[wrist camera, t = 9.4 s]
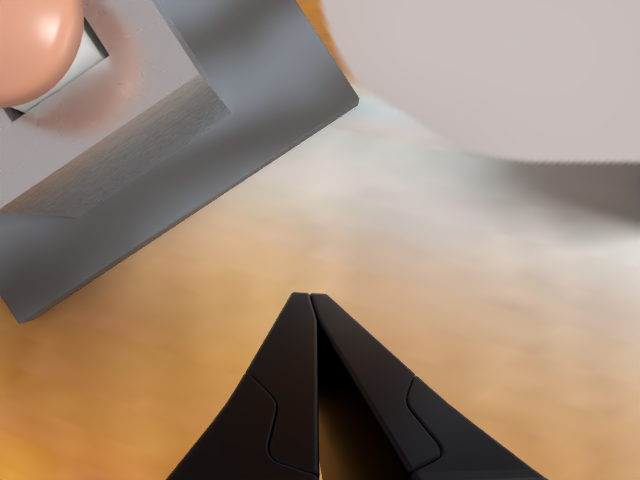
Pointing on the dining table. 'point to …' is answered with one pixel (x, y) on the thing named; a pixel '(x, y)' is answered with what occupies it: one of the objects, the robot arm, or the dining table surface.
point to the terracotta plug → (43, 49)
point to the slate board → (188, 148)
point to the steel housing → (108, 116)
